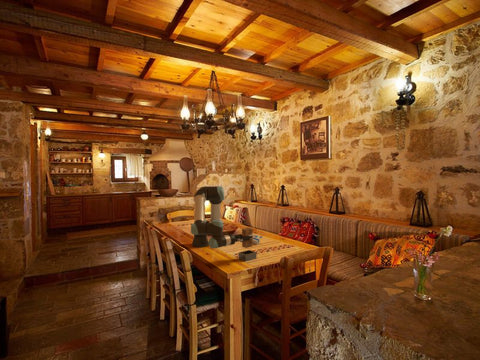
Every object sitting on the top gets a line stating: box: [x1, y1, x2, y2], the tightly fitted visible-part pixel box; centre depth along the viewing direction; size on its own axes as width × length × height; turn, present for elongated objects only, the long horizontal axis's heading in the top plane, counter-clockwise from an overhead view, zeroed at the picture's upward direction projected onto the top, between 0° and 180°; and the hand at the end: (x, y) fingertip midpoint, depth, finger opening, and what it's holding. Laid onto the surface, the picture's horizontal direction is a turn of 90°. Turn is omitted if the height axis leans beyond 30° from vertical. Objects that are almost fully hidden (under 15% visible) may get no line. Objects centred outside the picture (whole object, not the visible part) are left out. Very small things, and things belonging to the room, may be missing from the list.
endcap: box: [238, 249, 258, 262], centre depth 204 cm, size 11×8×5 cm
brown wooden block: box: [241, 227, 254, 249], centre depth 204 cm, size 7×4×14 cm, turn 128°
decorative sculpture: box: [253, 234, 264, 246], centre depth 259 cm, size 27×4×30 cm
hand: (252, 235), depth 207 cm, fingers closed on brown wooden block, 4 cm apart
